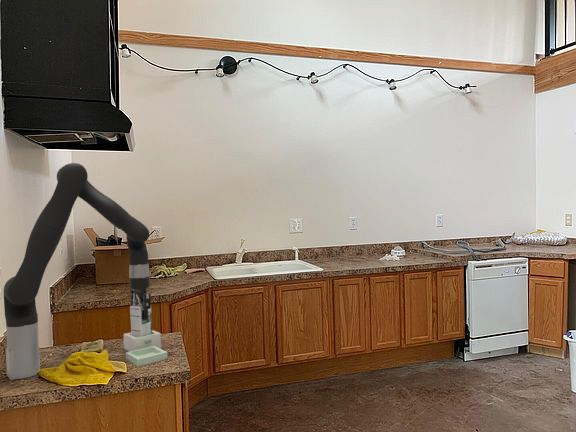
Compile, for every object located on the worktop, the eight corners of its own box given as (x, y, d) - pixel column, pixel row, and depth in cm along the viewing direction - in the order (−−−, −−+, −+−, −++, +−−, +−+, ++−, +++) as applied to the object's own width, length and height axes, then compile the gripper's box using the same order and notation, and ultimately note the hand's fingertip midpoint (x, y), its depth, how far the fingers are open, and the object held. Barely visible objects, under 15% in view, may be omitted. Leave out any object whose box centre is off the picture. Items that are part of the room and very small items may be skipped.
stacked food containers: (135, 355, 167) (134, 339, 167) (123, 349, 175) (123, 333, 175) (162, 349, 174) (161, 333, 174) (149, 343, 182) (149, 328, 182)
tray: (138, 366, 155) (137, 359, 155) (125, 359, 163) (125, 352, 163) (167, 358, 162) (167, 352, 162) (154, 352, 170) (154, 345, 170)
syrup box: (141, 344, 171) (140, 306, 171) (131, 342, 174) (129, 305, 174) (153, 340, 176) (151, 303, 176) (142, 338, 179) (141, 302, 179)
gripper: (122, 275, 177) (124, 316, 178) (137, 278, 167) (139, 323, 167) (141, 272, 182) (142, 313, 183) (156, 276, 171) (158, 319, 172)
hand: (141, 317), depth 175 cm, fingers closed on syrup box, 6 cm apart
